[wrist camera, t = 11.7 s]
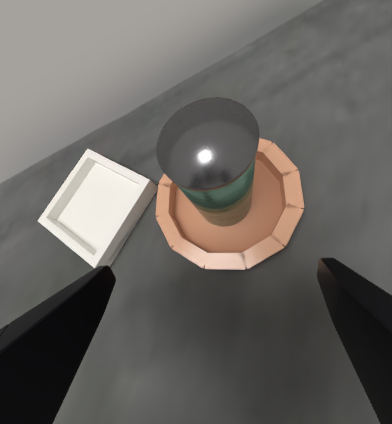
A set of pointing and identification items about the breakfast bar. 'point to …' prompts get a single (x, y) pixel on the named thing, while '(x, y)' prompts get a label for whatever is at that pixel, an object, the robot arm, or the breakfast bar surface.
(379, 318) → the robot arm
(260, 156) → the bowl
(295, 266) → the breakfast bar surface
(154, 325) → the breakfast bar surface
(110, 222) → the tray
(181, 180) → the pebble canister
